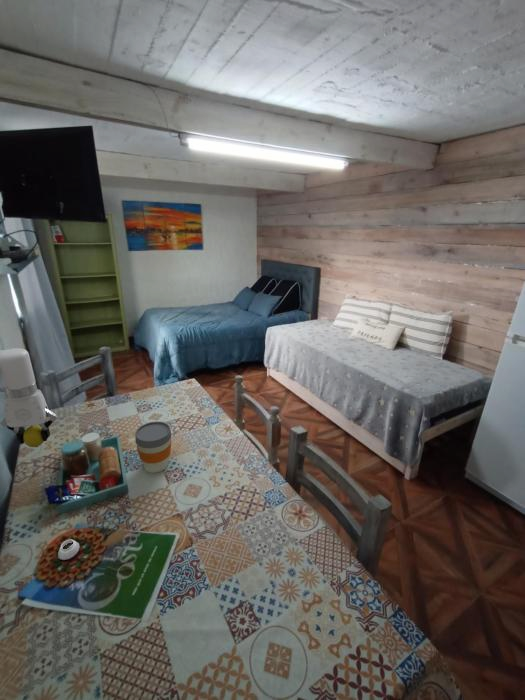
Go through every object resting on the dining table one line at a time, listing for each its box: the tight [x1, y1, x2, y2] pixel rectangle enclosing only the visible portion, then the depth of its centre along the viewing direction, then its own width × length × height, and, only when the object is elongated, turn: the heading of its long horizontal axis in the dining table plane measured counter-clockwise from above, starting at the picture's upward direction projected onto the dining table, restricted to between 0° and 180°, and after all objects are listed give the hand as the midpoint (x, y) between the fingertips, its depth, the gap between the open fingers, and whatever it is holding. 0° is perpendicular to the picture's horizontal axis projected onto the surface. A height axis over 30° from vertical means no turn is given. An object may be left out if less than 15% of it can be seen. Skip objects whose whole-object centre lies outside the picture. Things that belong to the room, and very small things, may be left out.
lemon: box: [23, 425, 45, 448], centre depth 100 cm, size 6×6×8 cm
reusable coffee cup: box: [134, 421, 173, 474], centre depth 117 cm, size 13×13×15 cm
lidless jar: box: [57, 538, 81, 561], centre depth 86 cm, size 5×3×5 cm
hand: (35, 439), depth 100 cm, fingers closed on lemon, 5 cm apart
